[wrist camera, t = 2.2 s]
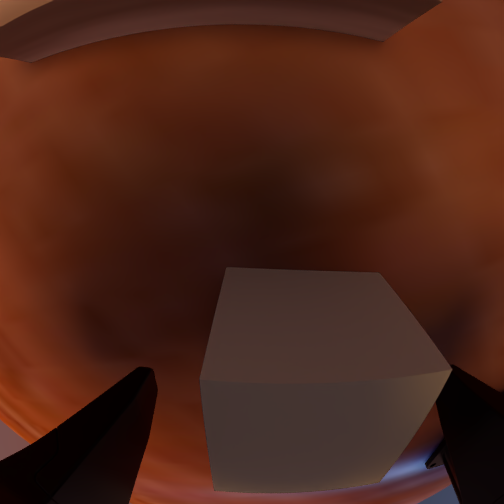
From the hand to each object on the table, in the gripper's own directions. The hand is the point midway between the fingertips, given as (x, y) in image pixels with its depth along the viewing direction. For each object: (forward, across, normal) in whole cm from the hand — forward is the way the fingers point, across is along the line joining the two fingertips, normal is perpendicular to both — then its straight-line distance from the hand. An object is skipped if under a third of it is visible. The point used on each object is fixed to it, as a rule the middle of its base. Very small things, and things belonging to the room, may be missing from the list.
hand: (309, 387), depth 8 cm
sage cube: (+3, 0, 0) cm, 3 cm away
